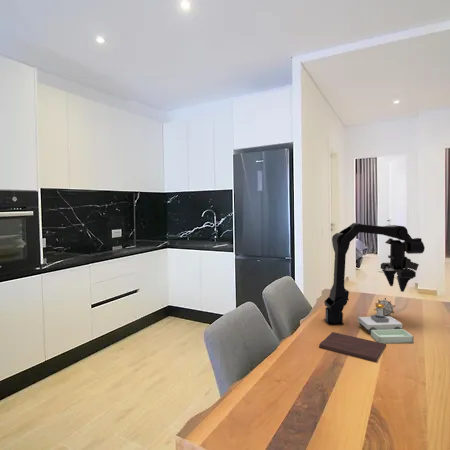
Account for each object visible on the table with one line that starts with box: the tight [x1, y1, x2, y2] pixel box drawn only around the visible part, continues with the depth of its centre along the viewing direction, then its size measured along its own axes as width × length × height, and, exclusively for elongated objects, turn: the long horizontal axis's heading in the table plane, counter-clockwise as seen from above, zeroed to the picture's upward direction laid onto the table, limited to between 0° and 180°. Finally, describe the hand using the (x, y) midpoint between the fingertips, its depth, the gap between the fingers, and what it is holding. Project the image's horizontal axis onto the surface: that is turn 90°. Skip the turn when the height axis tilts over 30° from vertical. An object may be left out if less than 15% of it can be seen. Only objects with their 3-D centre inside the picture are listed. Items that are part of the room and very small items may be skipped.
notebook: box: [318, 331, 387, 363], centre depth 120 cm, size 15×20×2 cm
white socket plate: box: [357, 314, 403, 335], centre depth 135 cm, size 14×10×6 cm
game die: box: [373, 297, 396, 317], centre depth 151 cm, size 9×8×10 cm
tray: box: [370, 328, 415, 345], centre depth 126 cm, size 13×7×2 cm, turn 91°
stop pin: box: [374, 302, 384, 318], centre depth 135 cm, size 3×3×7 cm
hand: (396, 288), depth 144 cm, fingers open, 9 cm apart
